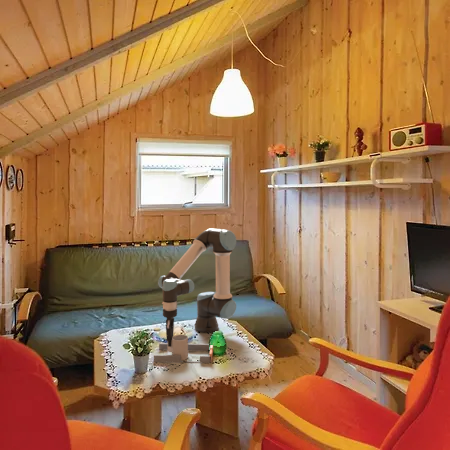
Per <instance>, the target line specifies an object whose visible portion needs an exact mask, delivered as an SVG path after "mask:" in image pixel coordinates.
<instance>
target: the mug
mask: <svg viewBox="0 0 450 450" xmlns="http://www.w3.org/2000/svg"><path fill="white" fill-rule="evenodd" d="M188 344H189V337H188V335H185V334H176V335H174V336H173V337H172V352H171V355H181V361H187V359H188V358H189V350H188Z"/></svg>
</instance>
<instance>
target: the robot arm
mask: <svg viewBox="0 0 450 450" xmlns="http://www.w3.org/2000/svg"><path fill="white" fill-rule="evenodd" d="M236 246H237V237H236V235H235V233H234V232H233V231H232V230H228V229H222V228H213V227H211V228H207V229H205V230H203V231H202V232H201V233H200V234H199V235H197V236H196V237H195V238H194V239H193V240H192V244H191V245H190V247H189V248H188V249H187V250H186V252H184V254H183V255H182V256H181V257H180V259H179V260H178V261H177V262H176V263H175V265H173V267H172V268H171V269H170V270H169V271H168V273H167V274H166V275H160V277H159V278H158V279H157V284H158V287H159V288H161V290H162V302H161V305H162V316H163V317H164V318H166V319H165V331H166V332H165V334H166V335H165V336H166V339H165V341H166V343H167V350H166V351H167V353H172V337H173V336H175V335H174V332H175V331H174V330H175V328H174V327H175V317H177V316H178V297H179V296H183V295H186V294H190V293H192V292H193V291H194V290H195V282H194V281H193V280H192V279H191V278H187V279H182V278H183V276H184V275H185V274H186V273H187V272H188V271H189V269H190V267H191V266H192V265H193V264H194V263H195V261H197V259H199V256H201V255H202V253H203V252H206V251H207V250H208V249H209V248H212V253H213V254H214V255H215V291H204V292H201V293H198V294H197V297H196V298H197V299H196V304H197V305H196V306H197V307H196V311H197V312H196V314H197V317H196V320H195V323H194V330H195V331H197V332H199V333H214V332H216V331H218V330H219V323H218V320H217V318H218V317H219V318H221V319H226V320H227V319H230V318H232V317H233V316H234V314H235V313H236V311H237V303H236V301H235V300H233V294H232V293H231V280H230V279H231V276H230V275H231V274H230V273H231V271H230V269H231V268H230V267H231V266H230V265H231V260H230V259H231V254H232V253H233V250H234V249H235V248H236Z"/></svg>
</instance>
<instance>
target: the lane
mask: <svg viewBox="0 0 450 450" xmlns="http://www.w3.org/2000/svg"><path fill="white" fill-rule="evenodd" d="M209 344H210V343H188V351H191V352H192V351H201V352H203V351H207V352H209V355H199V361H196V360H195V361H194V360H189V361H188V360H182V361H181V355H172V354H153V363H184V364H186V363H188V364H189V363H191V364H193V363H194V364H212V361H213V353H214V347H213V348H212V349H210V351H208V350H209ZM158 347H159V351H167V342H165V343H164V342H160V343H158Z"/></svg>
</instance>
